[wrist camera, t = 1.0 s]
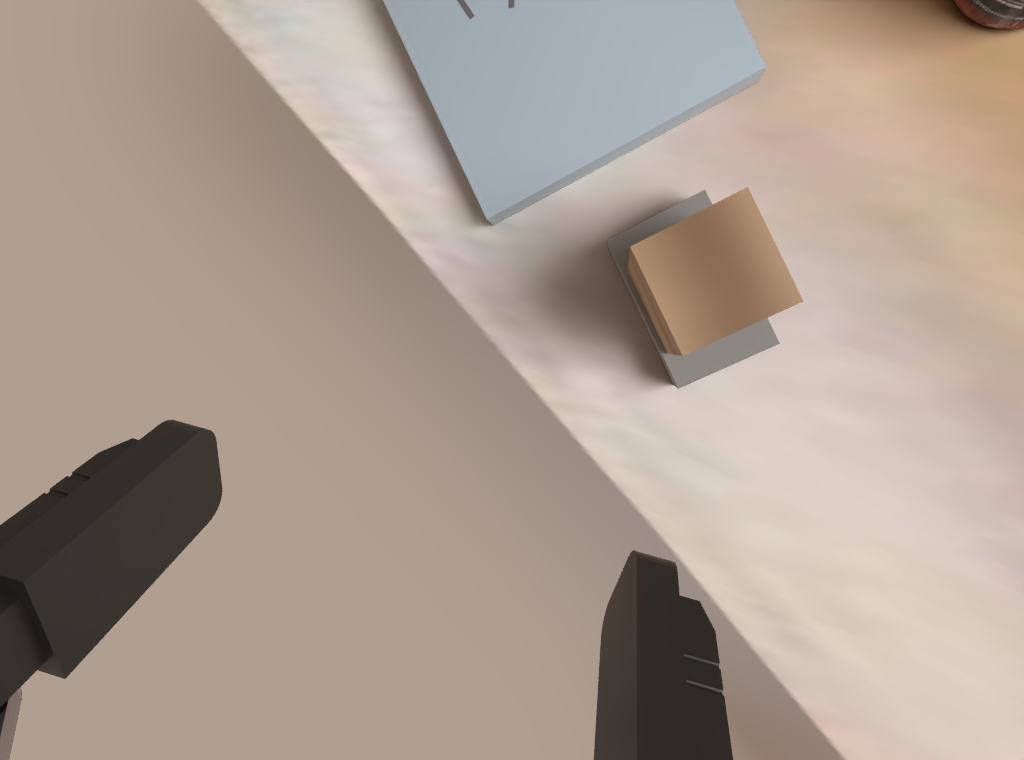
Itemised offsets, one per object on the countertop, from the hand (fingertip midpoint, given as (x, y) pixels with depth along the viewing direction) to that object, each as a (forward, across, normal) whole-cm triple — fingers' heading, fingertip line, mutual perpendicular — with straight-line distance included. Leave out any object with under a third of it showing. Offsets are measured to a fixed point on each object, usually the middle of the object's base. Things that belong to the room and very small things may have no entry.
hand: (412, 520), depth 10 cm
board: (+28, +5, -11) cm, 31 cm away
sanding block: (+21, -8, +2) cm, 23 cm away
